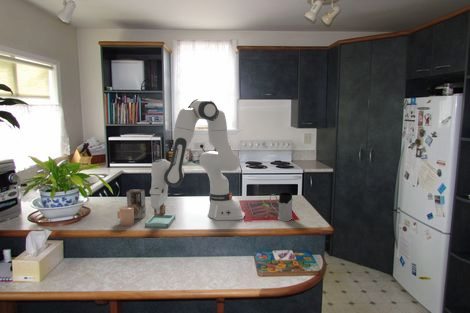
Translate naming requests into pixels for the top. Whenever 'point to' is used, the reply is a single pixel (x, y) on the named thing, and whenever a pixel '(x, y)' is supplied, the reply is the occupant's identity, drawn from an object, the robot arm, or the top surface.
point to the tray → (160, 221)
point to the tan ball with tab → (126, 215)
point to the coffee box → (137, 202)
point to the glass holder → (284, 206)
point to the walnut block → (160, 211)
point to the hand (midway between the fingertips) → (160, 211)
